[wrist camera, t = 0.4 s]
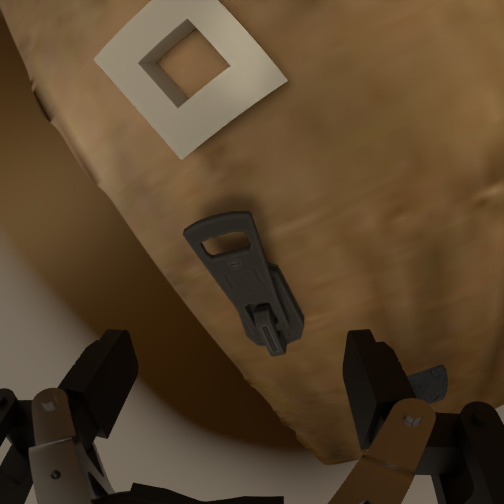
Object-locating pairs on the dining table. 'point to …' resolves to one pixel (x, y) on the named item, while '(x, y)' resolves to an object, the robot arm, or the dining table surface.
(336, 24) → the dining table surface
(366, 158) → the dining table surface
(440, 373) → the dark slate chunk
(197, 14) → the well block
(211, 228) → the zipper pull
